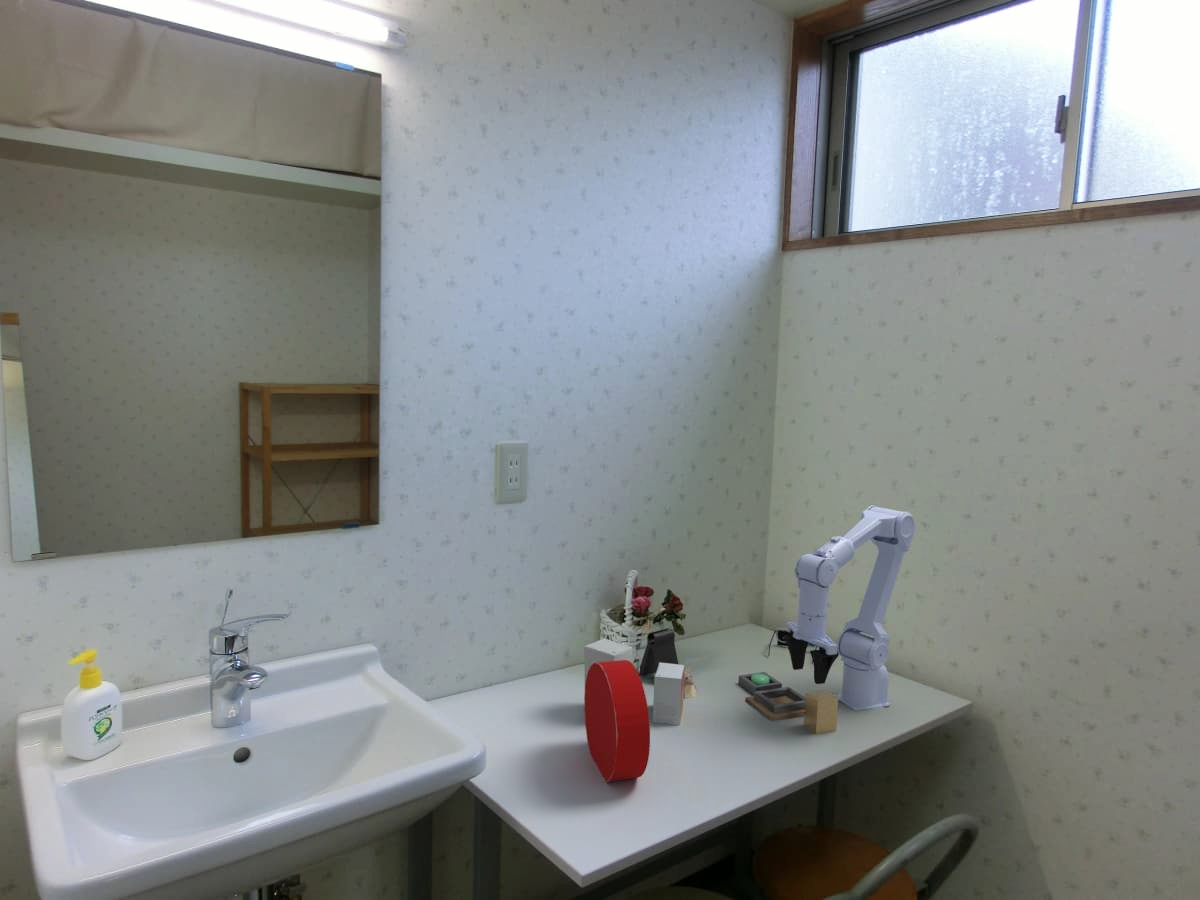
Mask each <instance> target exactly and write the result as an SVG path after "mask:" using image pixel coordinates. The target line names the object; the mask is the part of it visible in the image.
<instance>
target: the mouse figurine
mask: <svg viewBox="0 0 1200 900" xmlns="http://www.w3.org/2000/svg"><path fill="white" fill-rule="evenodd" d="M691 671H692V668H691V667H690V666H689V667H688V668H685V672H684V693H683V699H694V698H693V697H694V696H695V697H696V696H697V691H698V689H697V687H696V684H695V683H696V682H695V681H694V678H693V676H692V675H691V674H690V673H691Z"/></svg>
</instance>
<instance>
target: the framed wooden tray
mask: <svg viewBox="0 0 1200 900" xmlns="http://www.w3.org/2000/svg"><path fill="white" fill-rule="evenodd" d="M805 698H806V696H803V695H802V694H801V693H799V692H797V691H796V690H794V689H793V688H791V687H790V686H785V687H782V688H777V689H771V690H764V691H757V692H754V695H753V696H752V695H751V696H748V697H745V700H744V701H745V702H747V704H748V705H750V706H751V707H753V708H754V709H755V710H756V711H758V712H759V713H760V714H762V715H763V716H764V717H766V718H767V719H768V720H770V721H771V722H772V721H773V722H775V721H780V720H781V721H782V720H788V719H795V718H796V719H797V718H802V717H803V718H804V714H805Z"/></svg>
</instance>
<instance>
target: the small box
mask: <svg viewBox="0 0 1200 900" xmlns="http://www.w3.org/2000/svg"><path fill="white" fill-rule="evenodd" d="M685 669H686V668H685V664H679V663H678V664H669V663H659V665H658V669H657V672H656V673H654V674H655V675H654V677H653V678H654V679H653V682H654V683H653V705H652V708H653V709H652V722H654V723H659V724H666V725H673V726H680V725H681V720H682V716H683V710H684V709H683V708H684V698H683V693H684V672H685Z"/></svg>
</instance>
